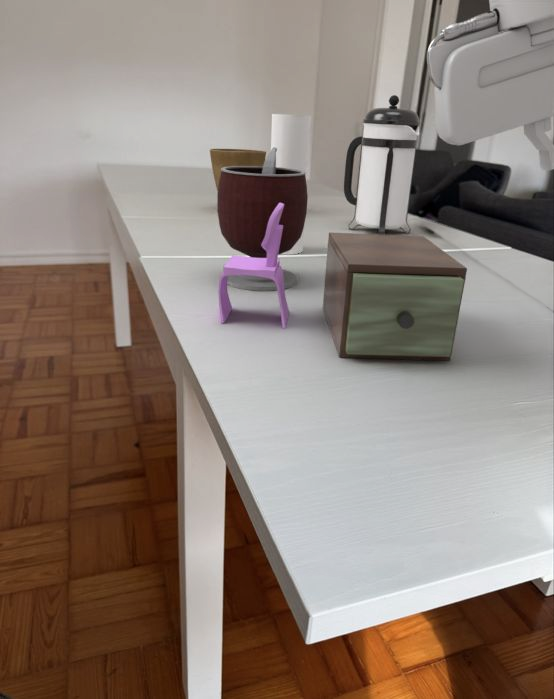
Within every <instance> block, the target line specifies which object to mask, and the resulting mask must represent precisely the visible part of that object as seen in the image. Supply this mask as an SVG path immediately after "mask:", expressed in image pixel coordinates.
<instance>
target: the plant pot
mask: <svg viewBox="0 0 554 699" xmlns="http://www.w3.org/2000/svg"><path fill="white" fill-rule="evenodd" d="M209 156H210V163H211V170H212V174H213V178H214V179H213V180H214V183H215V188H216V191H217V192H218V186H219V179H220V175H221V168H223V167H230V166H263V165H264V162H265V159H266V157H267V151H266V150H259V149H258V150H257V149H247V148H246V149H245V148H243V149H242V148H210V149H209Z"/></svg>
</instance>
